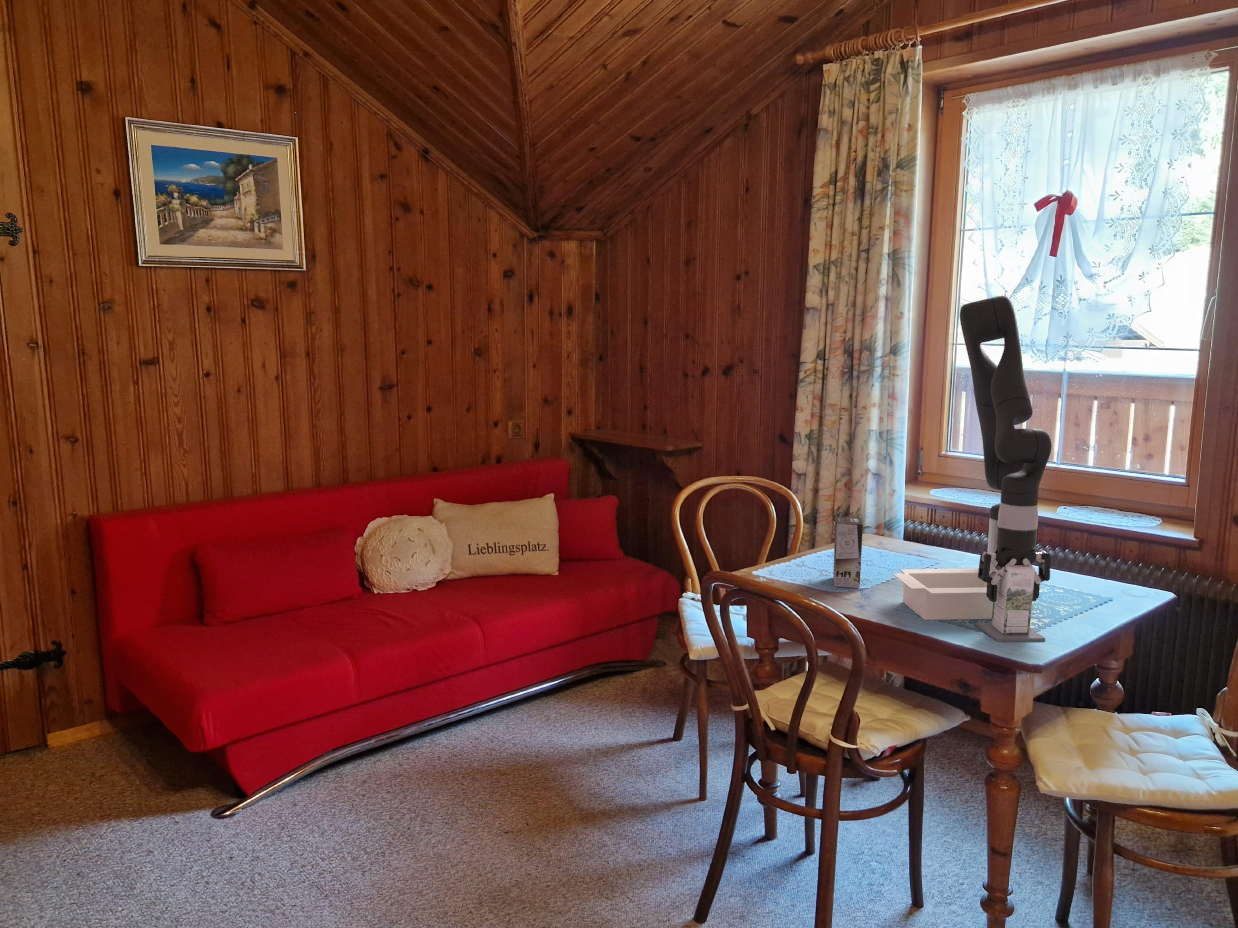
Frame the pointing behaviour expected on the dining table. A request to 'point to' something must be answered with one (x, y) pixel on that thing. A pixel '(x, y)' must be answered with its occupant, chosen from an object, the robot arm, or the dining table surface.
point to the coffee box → (847, 551)
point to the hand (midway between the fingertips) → (1012, 600)
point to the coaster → (1009, 637)
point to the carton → (946, 593)
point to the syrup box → (1014, 600)
